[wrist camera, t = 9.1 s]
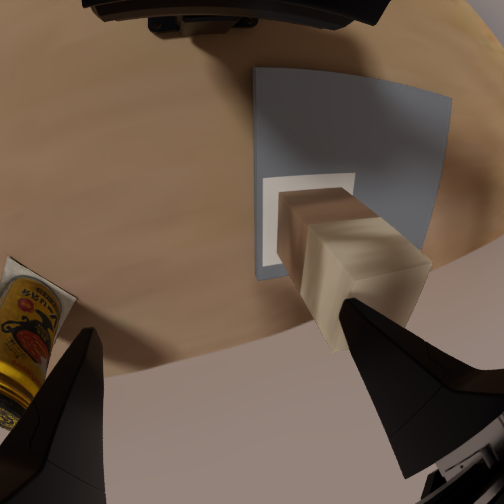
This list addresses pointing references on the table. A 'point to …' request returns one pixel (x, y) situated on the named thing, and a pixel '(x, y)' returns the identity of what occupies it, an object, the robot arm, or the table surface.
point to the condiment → (26, 336)
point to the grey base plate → (345, 148)
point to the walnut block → (311, 221)
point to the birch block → (360, 273)
